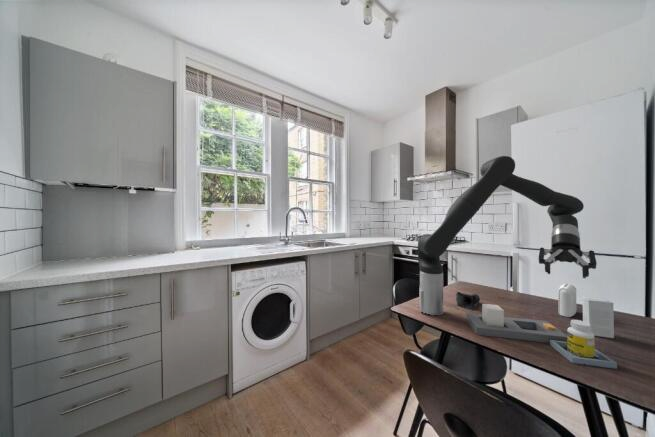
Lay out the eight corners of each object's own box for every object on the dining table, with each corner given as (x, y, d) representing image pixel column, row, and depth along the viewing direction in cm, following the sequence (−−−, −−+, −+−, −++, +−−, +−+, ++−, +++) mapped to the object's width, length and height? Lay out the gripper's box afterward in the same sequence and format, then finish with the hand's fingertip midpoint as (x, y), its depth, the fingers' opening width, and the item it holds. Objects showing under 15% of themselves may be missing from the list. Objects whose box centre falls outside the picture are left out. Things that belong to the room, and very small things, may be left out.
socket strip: (476, 334, 81) (476, 311, 81) (466, 319, 92) (466, 299, 92) (569, 345, 73) (569, 320, 73) (546, 327, 85) (546, 305, 85)
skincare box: (605, 333, 81) (605, 298, 81) (614, 338, 77) (614, 302, 77) (581, 329, 83) (581, 296, 83) (589, 335, 79) (589, 300, 79)
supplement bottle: (562, 351, 70) (561, 318, 70) (578, 349, 71) (578, 318, 71) (583, 362, 65) (583, 327, 65) (600, 360, 65) (600, 326, 65)
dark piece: (474, 314, 101) (482, 308, 109) (478, 297, 100) (486, 292, 108) (452, 304, 108) (461, 299, 116) (455, 288, 107) (465, 284, 115)
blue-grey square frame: (572, 362, 65) (572, 357, 65) (549, 344, 74) (549, 339, 74) (617, 368, 62) (617, 363, 62) (588, 349, 71) (588, 344, 71)
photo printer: (563, 309, 101) (563, 281, 101) (577, 312, 98) (577, 283, 98) (556, 314, 96) (556, 285, 96) (571, 318, 92) (571, 287, 92)
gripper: (539, 231, 91) (537, 265, 83) (594, 232, 81) (598, 271, 73) (540, 243, 95) (538, 277, 87) (593, 246, 85) (597, 284, 77)
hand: (566, 274), depth 80 cm, fingers open, 8 cm apart
